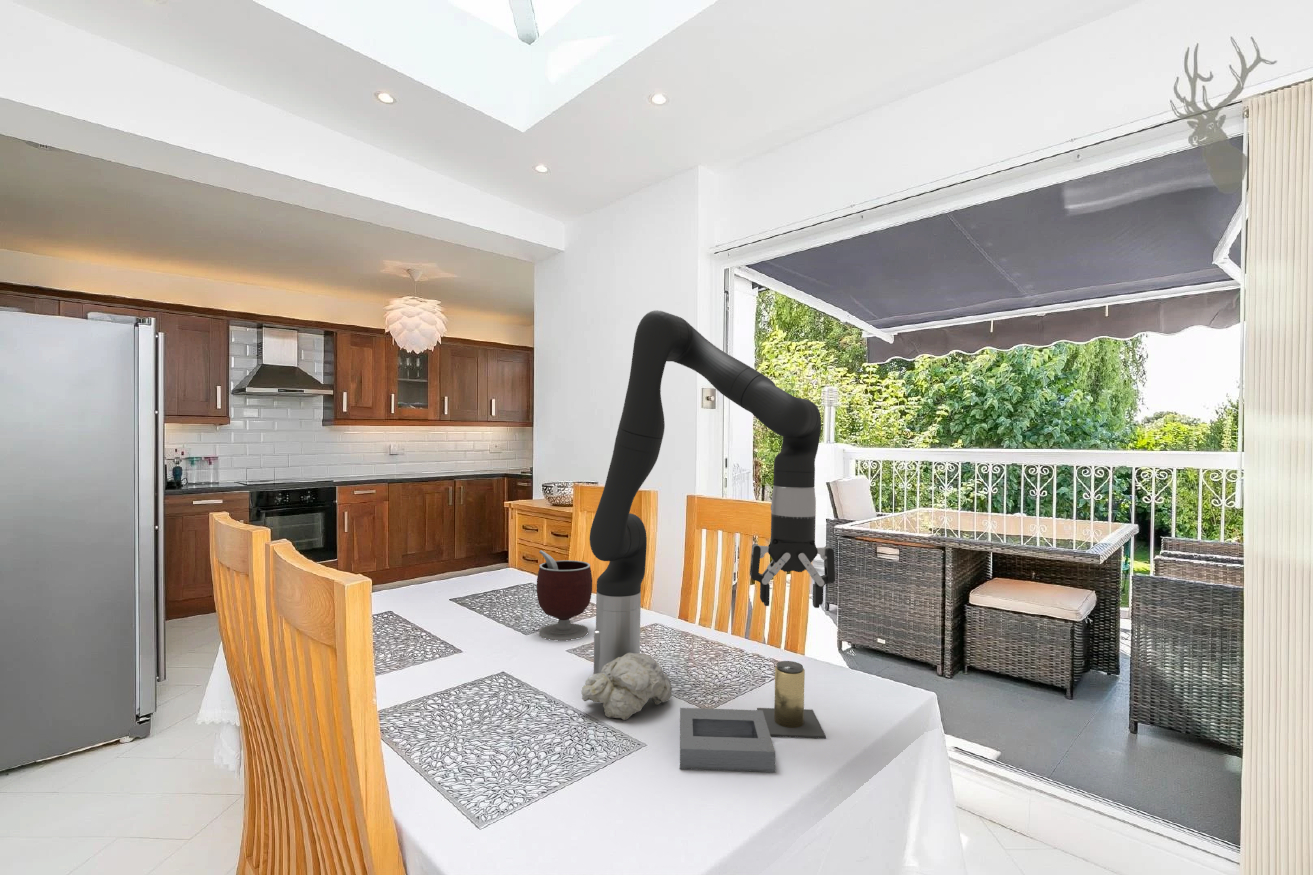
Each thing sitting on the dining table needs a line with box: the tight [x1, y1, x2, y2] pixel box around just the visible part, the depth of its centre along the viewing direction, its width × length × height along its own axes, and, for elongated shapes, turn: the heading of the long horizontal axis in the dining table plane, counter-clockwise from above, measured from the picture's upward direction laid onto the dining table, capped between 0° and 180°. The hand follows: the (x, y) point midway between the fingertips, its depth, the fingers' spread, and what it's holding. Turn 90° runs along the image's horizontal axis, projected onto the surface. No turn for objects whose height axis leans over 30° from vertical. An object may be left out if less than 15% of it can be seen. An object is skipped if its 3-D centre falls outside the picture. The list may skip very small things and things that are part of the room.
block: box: [679, 707, 776, 773], centre depth 97 cm, size 14×14×3 cm
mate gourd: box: [536, 550, 593, 642], centre depth 154 cm, size 16×14×20 cm
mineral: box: [581, 652, 673, 721], centre depth 111 cm, size 12×17×10 cm
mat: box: [756, 707, 827, 739], centre depth 105 cm, size 10×10×1 cm
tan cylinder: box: [773, 660, 806, 728], centre depth 105 cm, size 5×5×10 cm
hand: (791, 605), depth 105 cm, fingers open, 8 cm apart
